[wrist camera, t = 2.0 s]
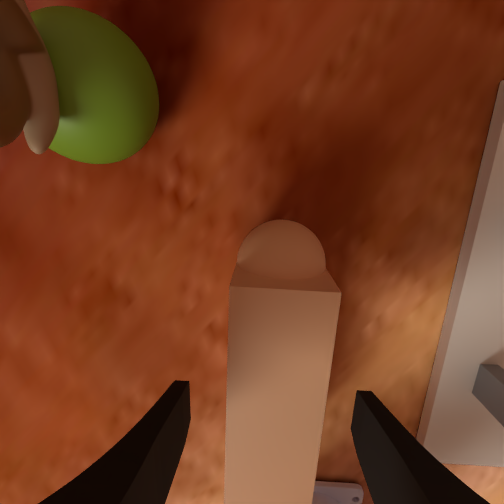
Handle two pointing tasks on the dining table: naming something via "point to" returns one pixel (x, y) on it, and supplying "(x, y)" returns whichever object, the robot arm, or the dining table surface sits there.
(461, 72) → the dining table surface
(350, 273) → the dining table surface
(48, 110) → the snail figurine
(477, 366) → the cradle jig
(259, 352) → the block
